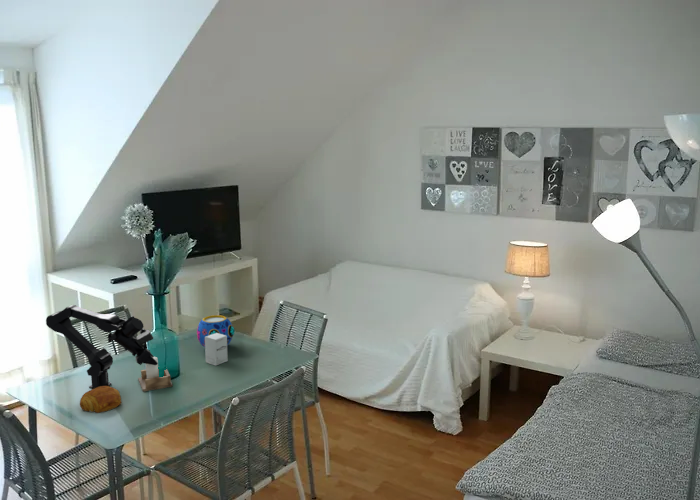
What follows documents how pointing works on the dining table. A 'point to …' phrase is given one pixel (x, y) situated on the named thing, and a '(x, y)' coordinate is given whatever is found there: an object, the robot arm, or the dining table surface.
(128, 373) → the dining table surface
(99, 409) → the croissant
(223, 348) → the supplement box
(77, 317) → the robot arm
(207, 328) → the ceramic pot
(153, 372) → the paper roll
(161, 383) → the cradle
